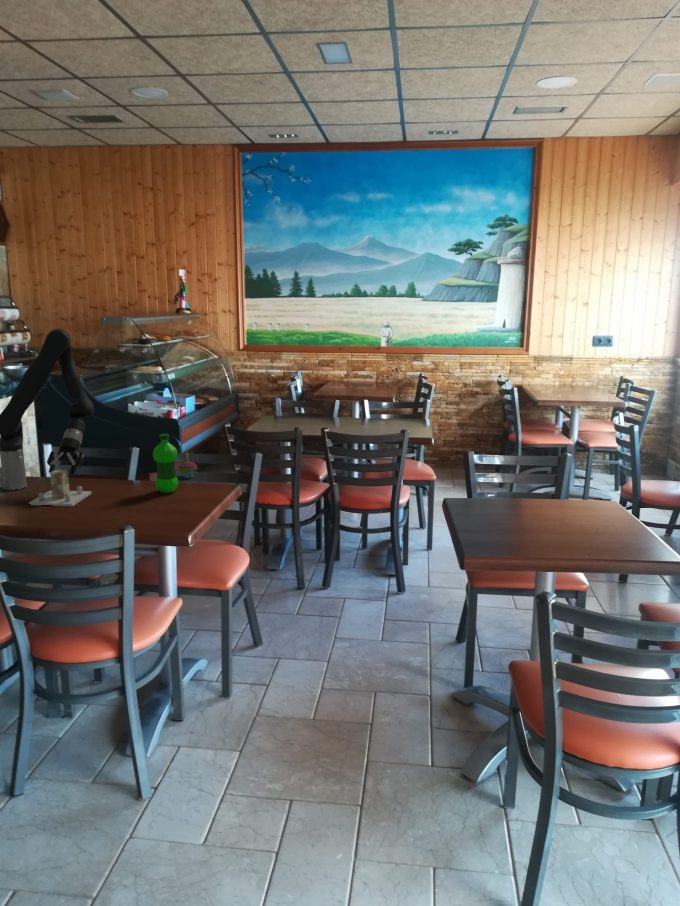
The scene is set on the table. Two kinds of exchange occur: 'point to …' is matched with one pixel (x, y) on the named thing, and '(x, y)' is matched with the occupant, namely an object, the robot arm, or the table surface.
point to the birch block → (59, 483)
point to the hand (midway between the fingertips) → (61, 474)
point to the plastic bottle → (165, 465)
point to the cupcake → (187, 468)
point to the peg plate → (68, 501)
